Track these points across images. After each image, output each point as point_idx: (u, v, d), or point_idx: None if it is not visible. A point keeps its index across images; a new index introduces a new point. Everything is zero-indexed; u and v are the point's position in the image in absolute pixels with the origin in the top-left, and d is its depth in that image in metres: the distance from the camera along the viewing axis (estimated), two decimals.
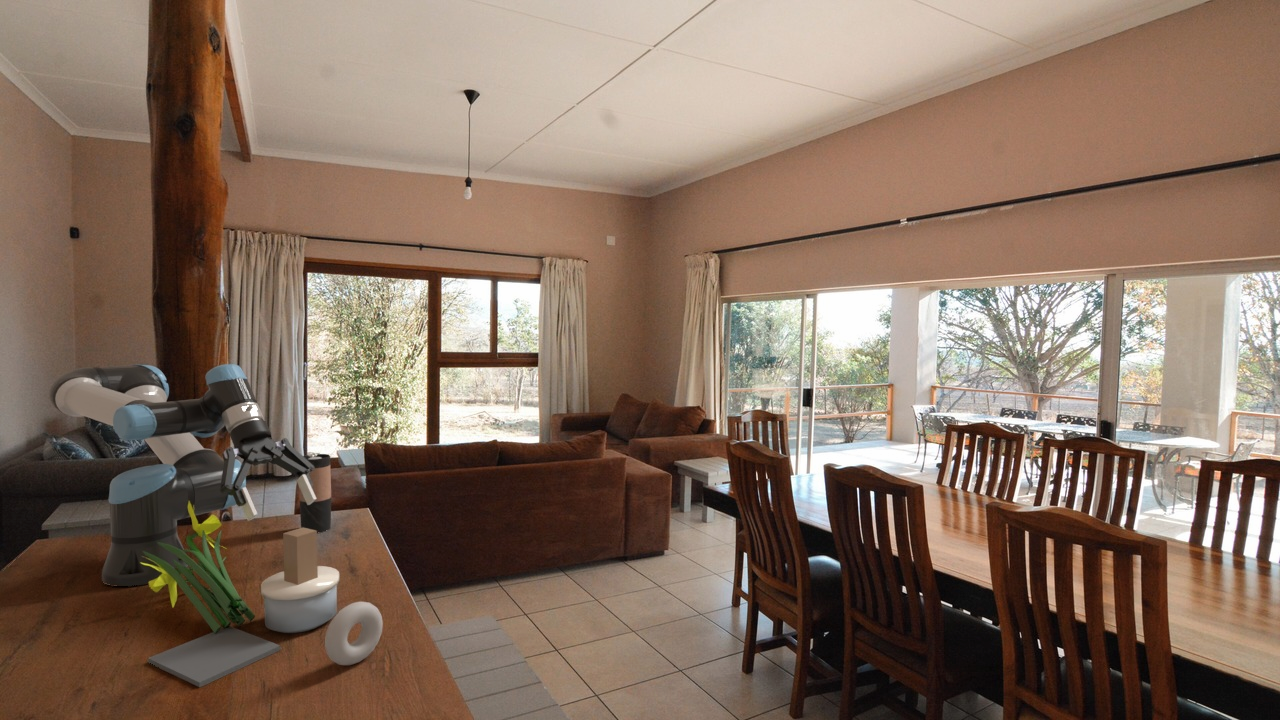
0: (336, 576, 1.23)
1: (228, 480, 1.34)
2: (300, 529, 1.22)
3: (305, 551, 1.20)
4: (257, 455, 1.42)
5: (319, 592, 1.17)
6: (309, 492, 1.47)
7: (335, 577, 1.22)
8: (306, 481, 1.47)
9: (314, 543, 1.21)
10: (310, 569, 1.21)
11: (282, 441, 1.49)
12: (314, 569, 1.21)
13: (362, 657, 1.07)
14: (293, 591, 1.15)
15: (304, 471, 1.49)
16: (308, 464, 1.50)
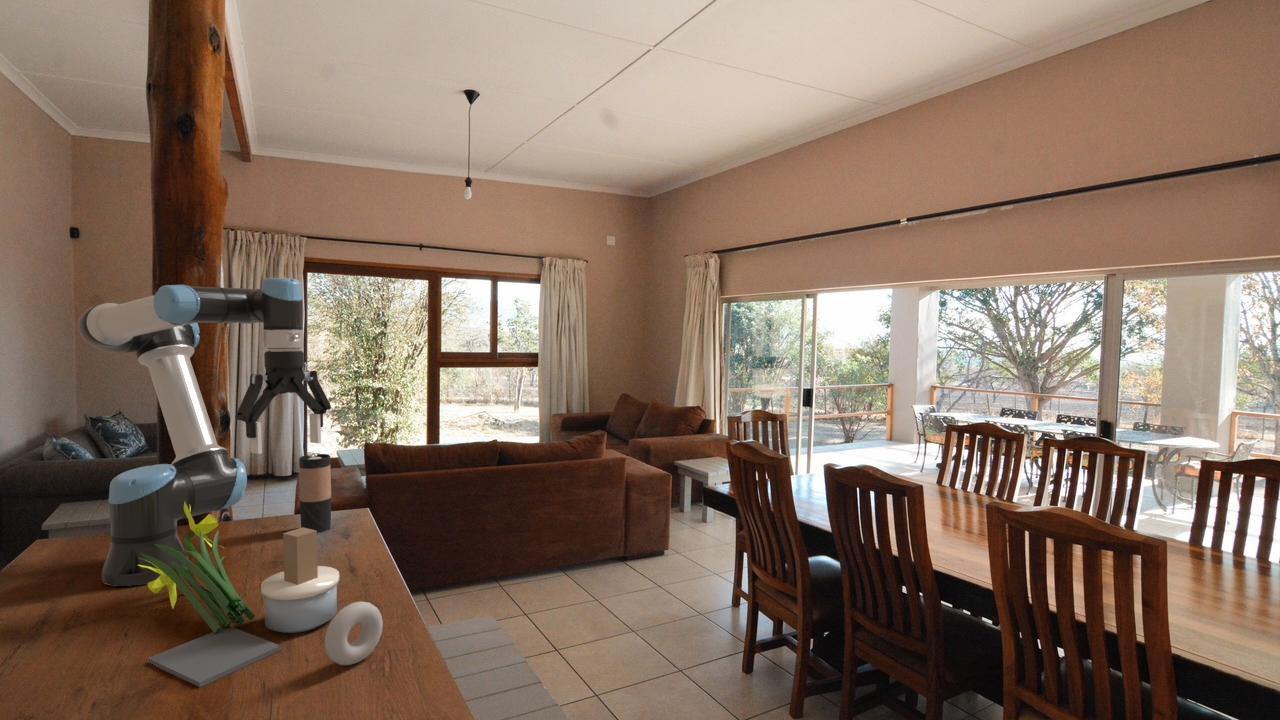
0: (336, 576, 1.23)
1: (247, 412, 1.31)
2: (300, 529, 1.22)
3: (305, 551, 1.20)
4: (283, 387, 1.38)
5: (319, 592, 1.17)
6: (316, 434, 1.45)
7: (335, 577, 1.22)
8: (318, 423, 1.45)
9: (314, 543, 1.21)
10: (310, 569, 1.21)
11: (311, 373, 1.44)
12: (314, 569, 1.21)
13: (362, 657, 1.07)
14: (293, 591, 1.15)
15: (320, 411, 1.46)
16: (326, 403, 1.47)
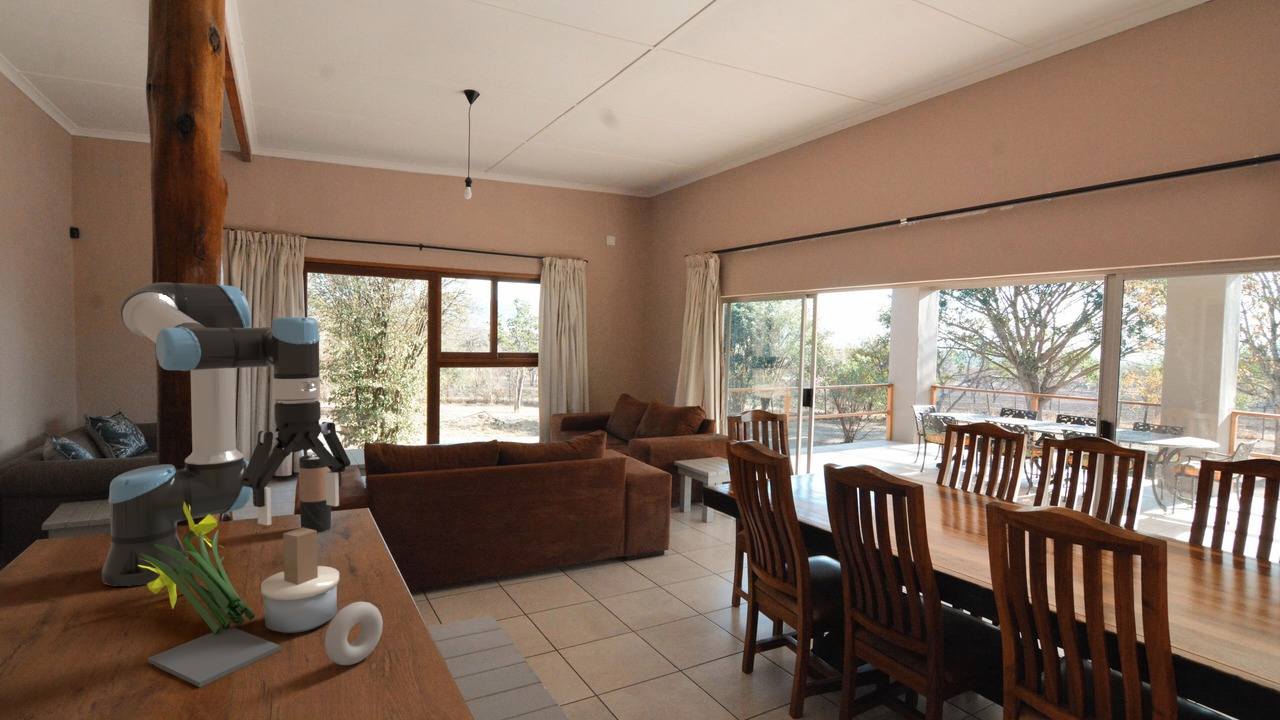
0: (336, 576, 1.23)
1: (255, 477, 1.11)
2: (300, 529, 1.22)
3: (305, 551, 1.20)
4: (296, 444, 1.18)
5: (319, 592, 1.17)
6: (334, 496, 1.25)
7: (335, 577, 1.22)
8: (336, 482, 1.25)
9: (314, 543, 1.21)
10: (310, 569, 1.21)
11: (328, 426, 1.24)
12: (314, 569, 1.21)
13: (362, 657, 1.07)
14: (293, 591, 1.15)
15: (338, 468, 1.26)
16: (345, 459, 1.27)
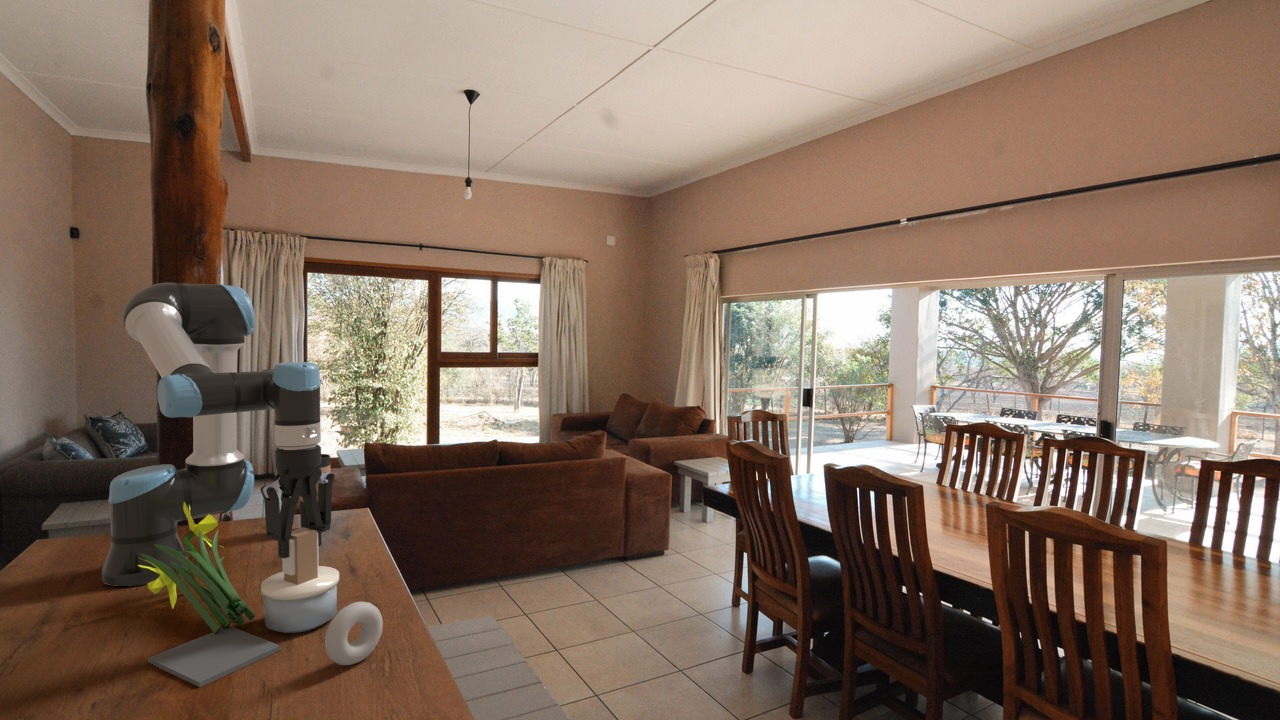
0: (336, 576, 1.23)
1: (277, 530, 1.15)
2: (300, 529, 1.22)
3: (305, 551, 1.20)
4: None
5: (319, 592, 1.17)
6: None
7: (335, 577, 1.22)
8: None
9: (314, 543, 1.21)
10: (310, 569, 1.21)
11: (328, 476, 1.24)
12: (314, 569, 1.21)
13: (362, 657, 1.07)
14: (293, 591, 1.15)
15: (318, 527, 1.23)
16: (328, 516, 1.24)
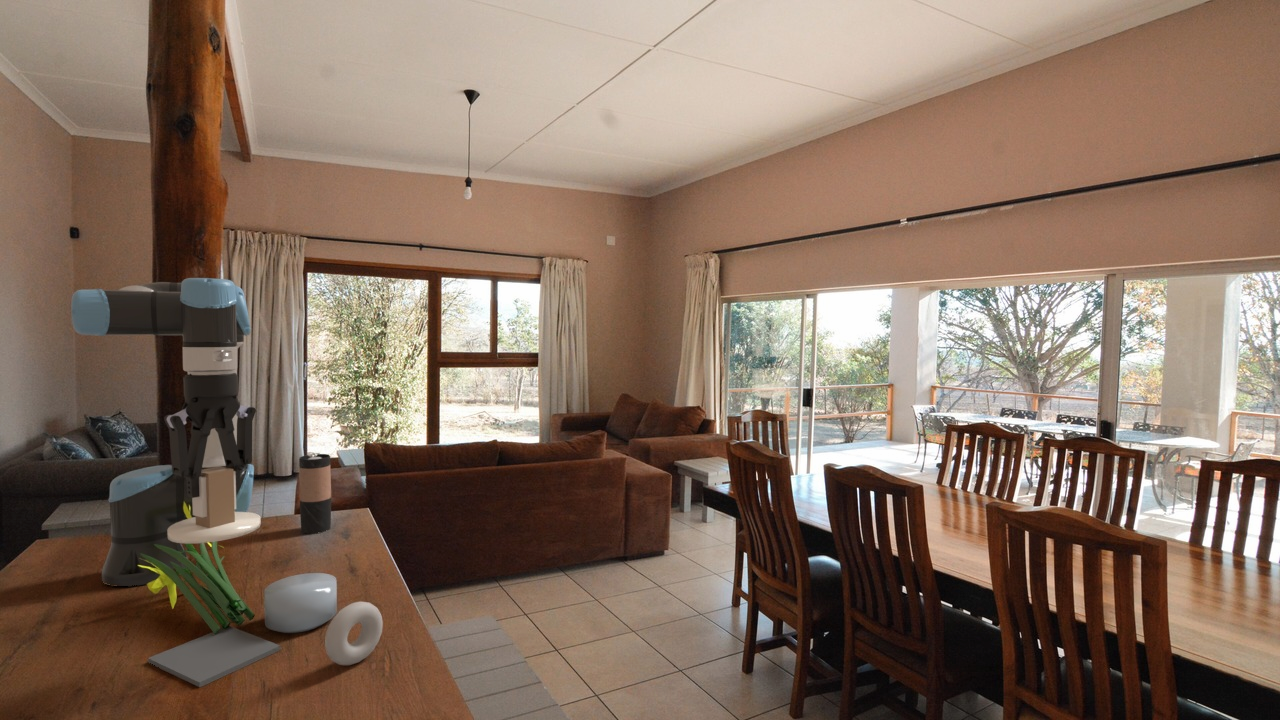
0: (256, 520, 1.09)
1: (184, 465, 1.02)
2: (215, 468, 1.09)
3: (219, 491, 1.06)
4: None
5: (233, 536, 1.04)
6: None
7: (254, 521, 1.09)
8: None
9: (230, 483, 1.08)
10: (225, 511, 1.07)
11: (248, 409, 1.11)
12: (230, 512, 1.08)
13: (362, 657, 1.07)
14: (202, 534, 1.02)
15: (236, 465, 1.09)
16: (248, 454, 1.11)
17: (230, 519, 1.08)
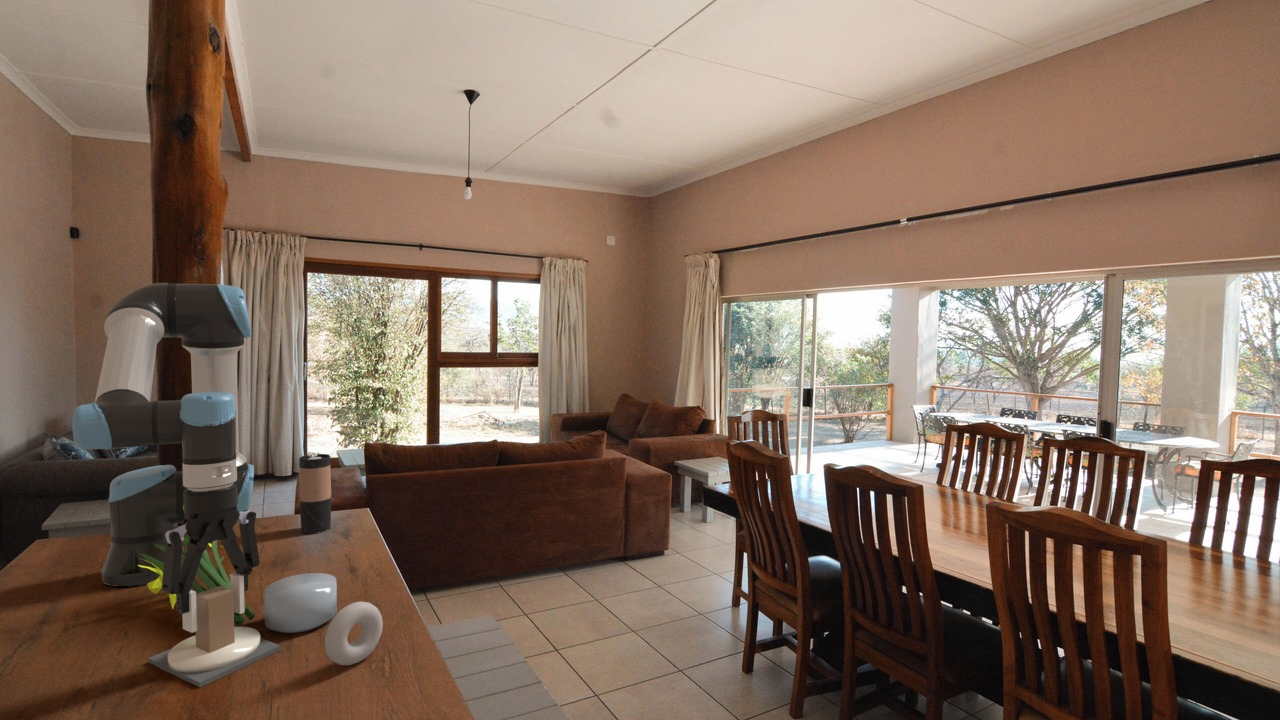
0: (255, 641, 1.10)
1: (174, 582, 1.02)
2: (215, 589, 1.10)
3: (219, 615, 1.07)
4: None
5: (233, 662, 1.05)
6: (238, 602, 1.11)
7: (254, 642, 1.10)
8: (241, 587, 1.11)
9: (230, 605, 1.09)
10: (225, 634, 1.08)
11: (248, 515, 1.12)
12: (230, 634, 1.09)
13: (362, 657, 1.07)
14: (202, 662, 1.03)
15: (244, 570, 1.11)
16: (255, 558, 1.13)
17: (230, 641, 1.09)
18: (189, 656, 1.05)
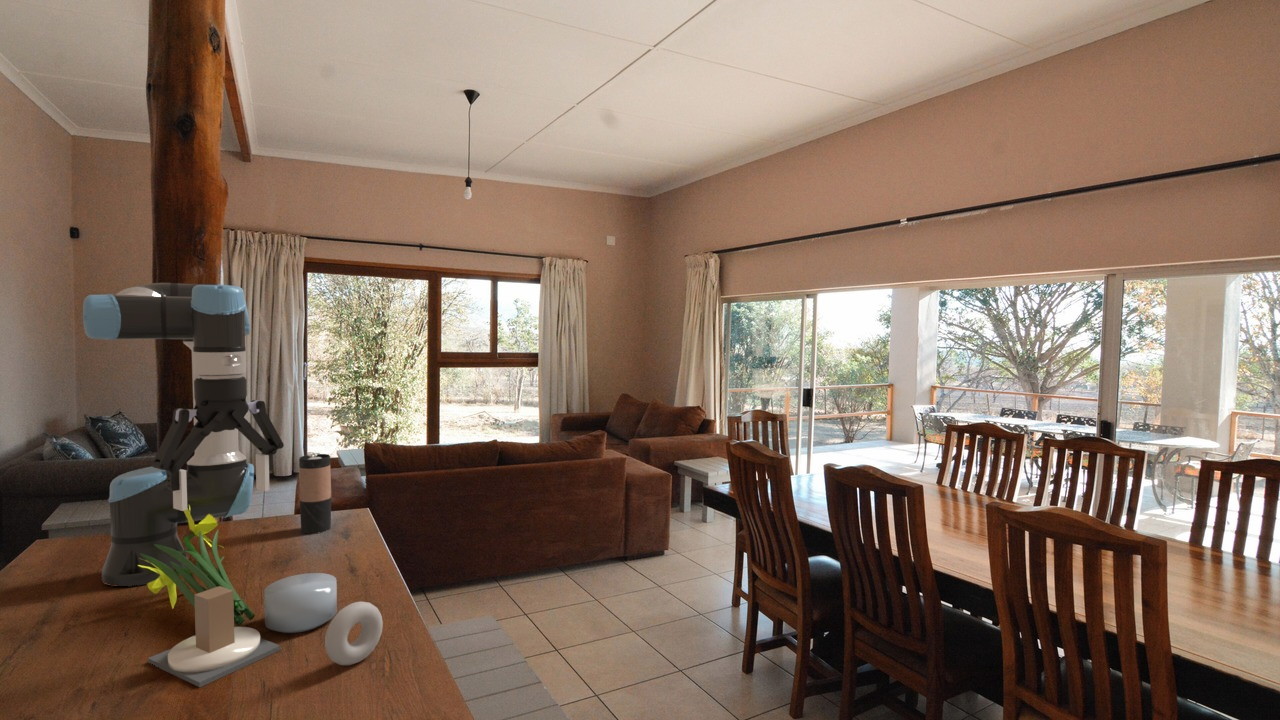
0: (255, 641, 1.10)
1: (167, 458, 1.02)
2: (215, 589, 1.10)
3: (219, 615, 1.07)
4: (218, 424, 1.09)
5: (233, 662, 1.05)
6: (264, 480, 1.16)
7: (254, 642, 1.10)
8: (266, 466, 1.16)
9: (230, 605, 1.09)
10: (225, 634, 1.08)
11: (257, 404, 1.15)
12: (230, 634, 1.09)
13: (362, 657, 1.07)
14: (202, 662, 1.03)
15: (269, 451, 1.16)
16: (277, 441, 1.18)
17: (230, 641, 1.09)
18: (189, 656, 1.05)
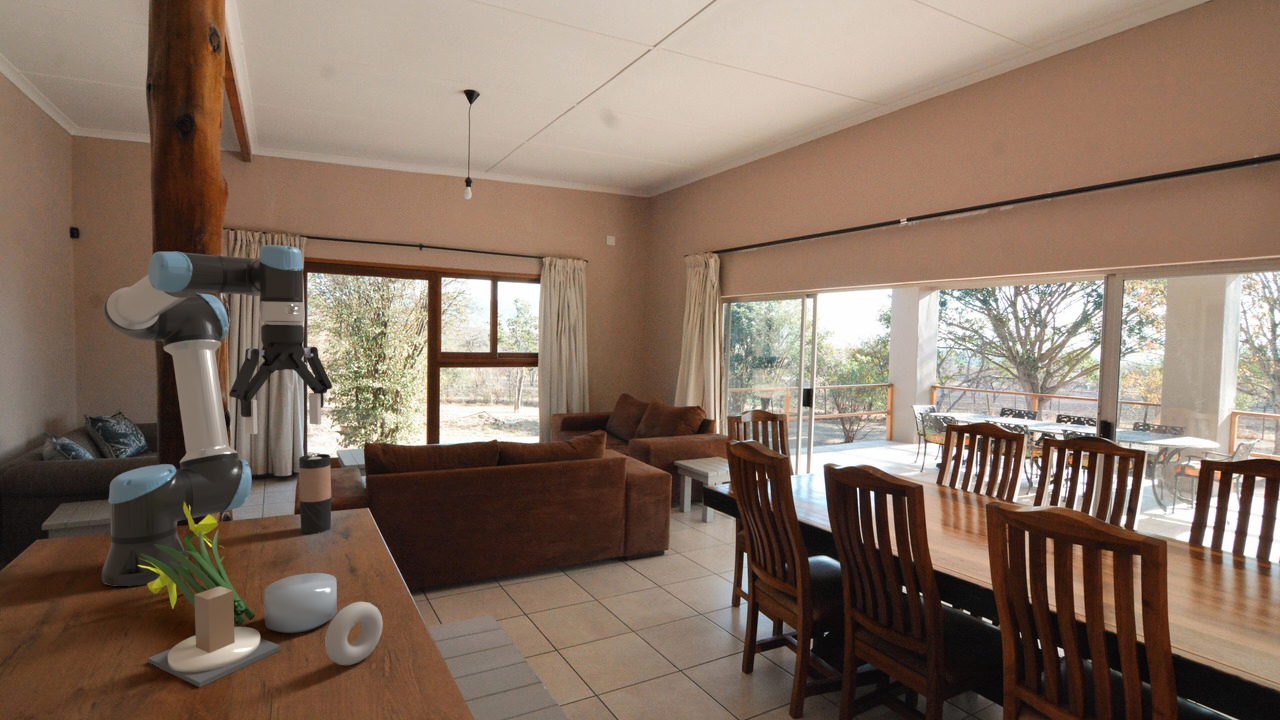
0: (255, 641, 1.10)
1: (242, 388, 1.22)
2: (215, 589, 1.10)
3: (219, 615, 1.07)
4: (281, 363, 1.28)
5: (233, 662, 1.05)
6: (316, 415, 1.36)
7: (254, 642, 1.10)
8: (318, 403, 1.36)
9: (230, 605, 1.09)
10: (225, 634, 1.08)
11: (311, 350, 1.35)
12: (230, 634, 1.09)
13: (362, 657, 1.07)
14: (202, 662, 1.03)
15: (320, 390, 1.36)
16: (327, 382, 1.38)
17: (230, 641, 1.09)
18: (189, 656, 1.05)
